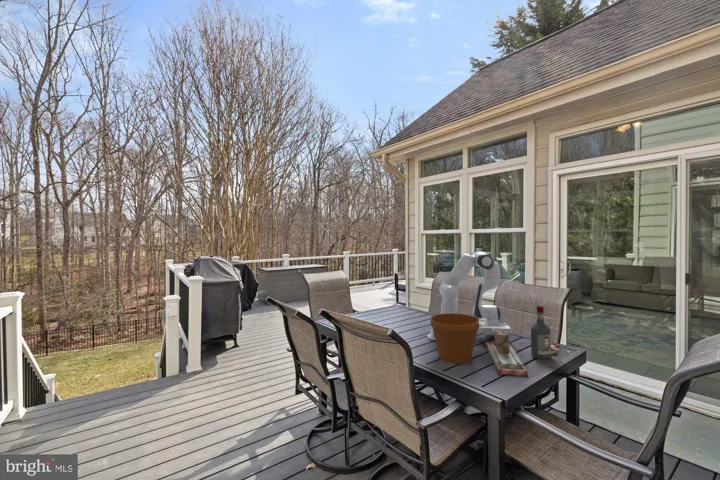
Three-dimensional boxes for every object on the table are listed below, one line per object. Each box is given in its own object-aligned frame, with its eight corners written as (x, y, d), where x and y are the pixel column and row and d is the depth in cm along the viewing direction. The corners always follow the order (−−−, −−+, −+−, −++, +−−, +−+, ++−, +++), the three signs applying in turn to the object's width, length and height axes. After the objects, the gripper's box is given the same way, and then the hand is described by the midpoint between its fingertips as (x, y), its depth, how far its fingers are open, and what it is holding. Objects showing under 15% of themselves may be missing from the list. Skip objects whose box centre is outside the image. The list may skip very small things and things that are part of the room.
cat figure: (533, 344, 225) (542, 353, 201) (533, 331, 226) (542, 339, 202) (550, 345, 222) (561, 355, 198) (549, 331, 223) (560, 340, 199)
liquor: (529, 354, 202) (528, 305, 202) (541, 353, 204) (540, 304, 204) (540, 360, 193) (539, 308, 193) (553, 358, 195) (552, 307, 195)
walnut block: (498, 353, 197) (498, 334, 197) (495, 346, 209) (494, 329, 209) (509, 353, 196) (508, 335, 196) (505, 347, 208) (504, 329, 208)
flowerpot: (465, 348, 216) (464, 312, 216) (489, 364, 189) (488, 323, 189) (424, 351, 212) (423, 315, 211) (443, 368, 184) (442, 326, 184)
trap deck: (498, 374, 175) (498, 366, 175) (485, 344, 222) (485, 339, 222) (527, 376, 172) (527, 368, 172) (508, 346, 219) (508, 339, 219)
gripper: (477, 322, 236) (480, 327, 222) (508, 323, 231) (513, 328, 218) (477, 331, 236) (480, 336, 222) (508, 332, 231) (513, 338, 218)
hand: (496, 332), depth 220 cm, fingers closed
